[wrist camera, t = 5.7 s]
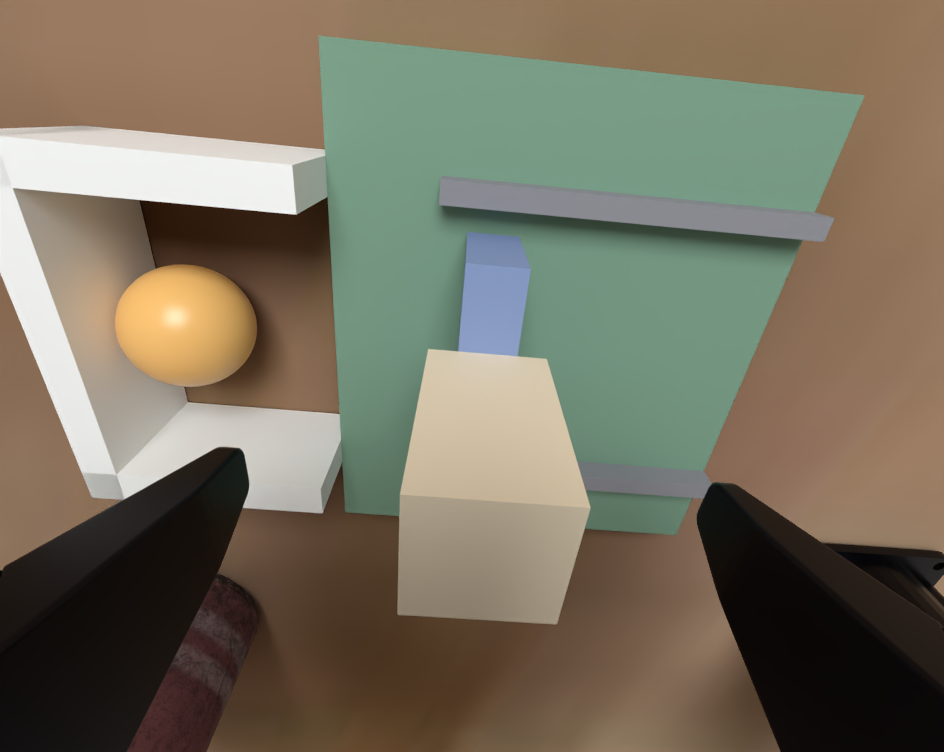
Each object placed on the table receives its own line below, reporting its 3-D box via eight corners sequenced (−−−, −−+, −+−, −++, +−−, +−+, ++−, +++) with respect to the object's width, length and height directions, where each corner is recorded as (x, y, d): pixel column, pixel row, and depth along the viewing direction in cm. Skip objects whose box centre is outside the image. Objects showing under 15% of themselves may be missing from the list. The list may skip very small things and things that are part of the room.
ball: (133, 247, 14) (260, 252, 15) (160, 352, 16) (272, 352, 17) (67, 286, 11) (230, 290, 12) (110, 411, 13) (250, 408, 14)
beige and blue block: (545, 239, 13) (626, 385, 6) (510, 445, 16) (537, 689, 9) (441, 229, 13) (402, 367, 6) (429, 439, 16) (395, 681, 9)
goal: (340, 151, 13) (292, 165, 10) (351, 436, 18) (322, 513, 15) (85, 125, 13) (-58, 130, 10) (166, 422, 18) (91, 497, 14)
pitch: (824, 97, 13) (890, 94, 11) (662, 507, 20) (683, 551, 18) (335, 43, 12) (308, 30, 10) (353, 485, 19) (339, 528, 17)
